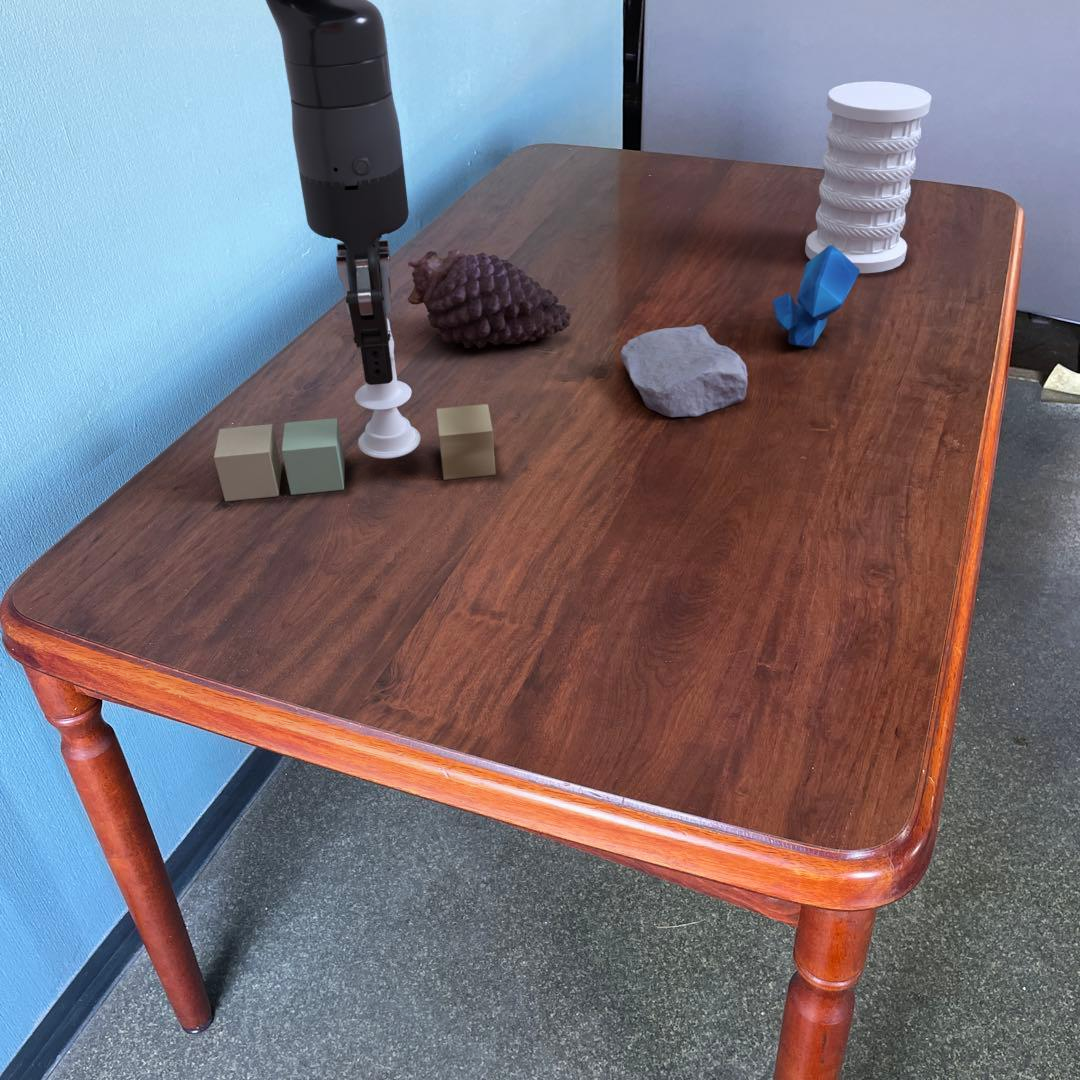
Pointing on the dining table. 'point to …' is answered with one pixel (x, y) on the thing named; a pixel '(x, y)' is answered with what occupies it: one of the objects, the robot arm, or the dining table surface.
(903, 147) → the decorative container
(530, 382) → the dining table surface
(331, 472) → the block
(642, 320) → the dining table surface
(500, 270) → the pine cone
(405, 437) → the candle
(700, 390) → the stone block
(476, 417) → the block
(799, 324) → the crystal
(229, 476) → the block
